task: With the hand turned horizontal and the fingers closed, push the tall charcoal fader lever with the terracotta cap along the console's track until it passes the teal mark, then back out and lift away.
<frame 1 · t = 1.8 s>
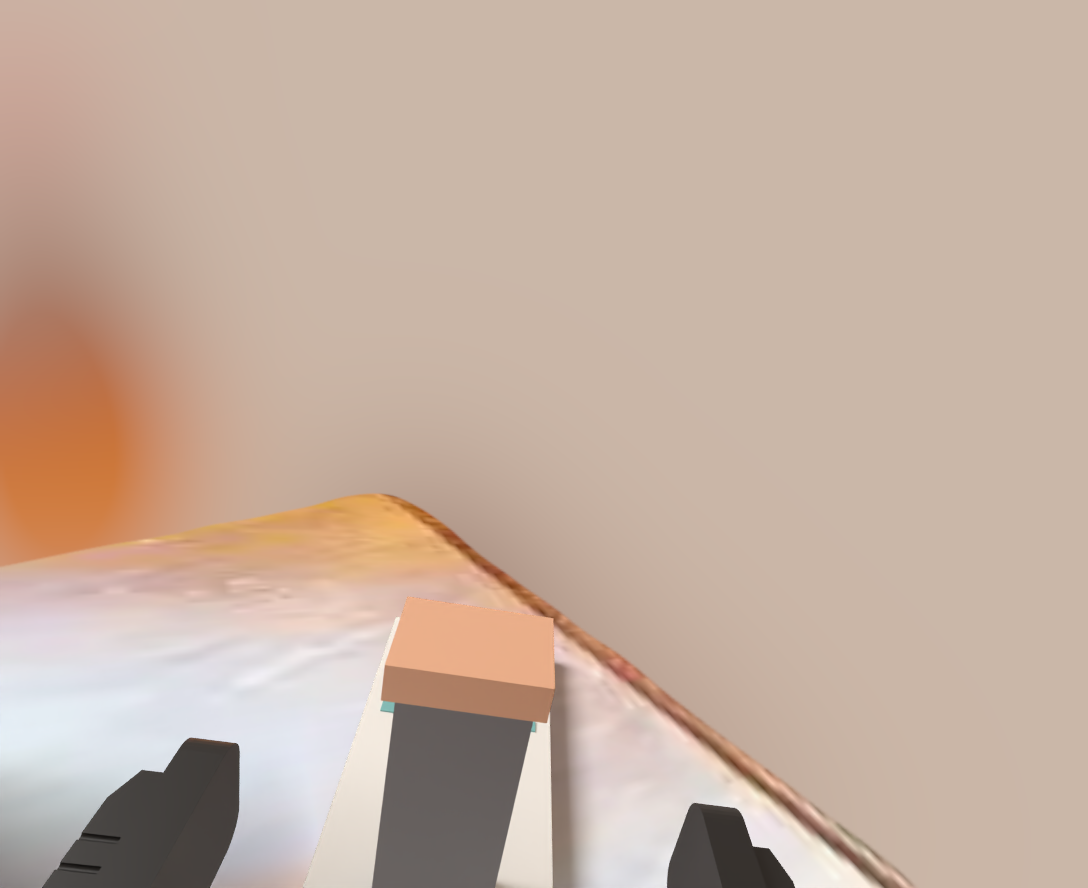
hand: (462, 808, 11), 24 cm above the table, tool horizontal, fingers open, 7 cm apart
console: (446, 793, 38), on the table
fader: (450, 787, 27), point 10 cm above the table, slide at 0.0 cm
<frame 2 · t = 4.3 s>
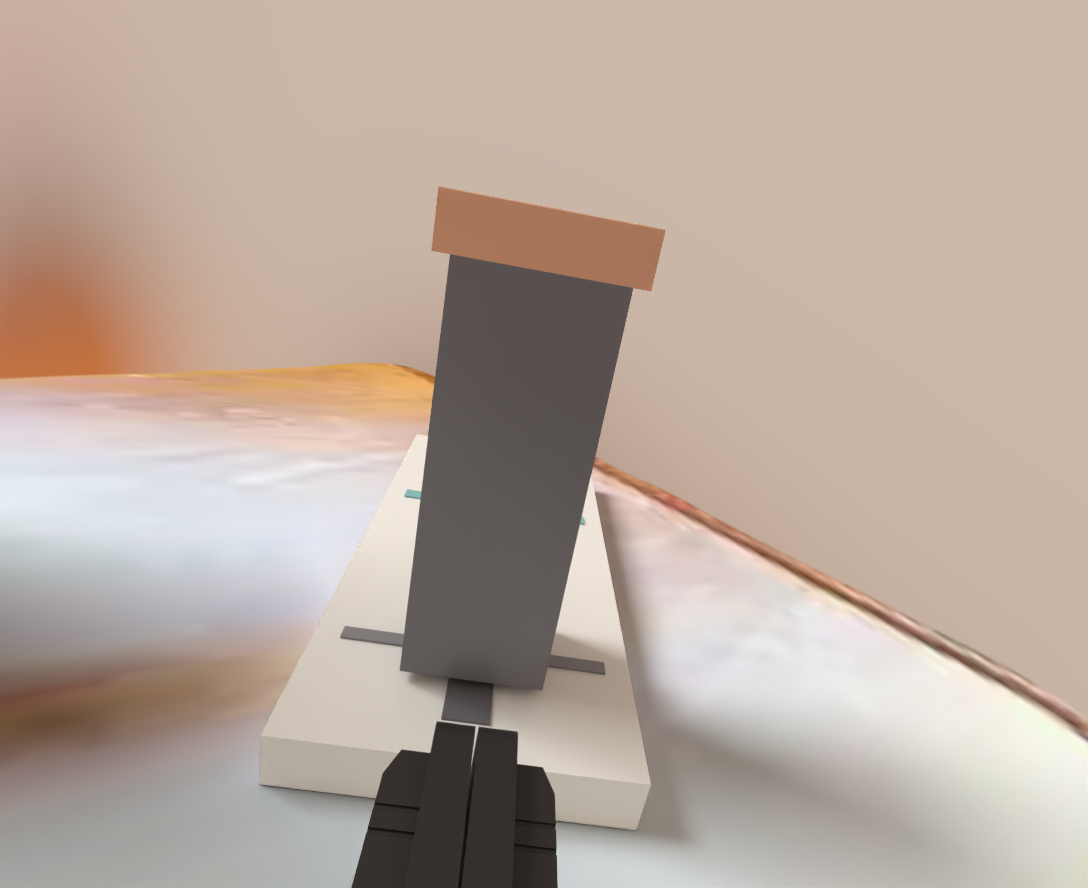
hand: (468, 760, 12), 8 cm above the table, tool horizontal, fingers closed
console: (484, 578, 32), on the table
fader: (509, 453, 21), point 10 cm above the table, slide at 0.0 cm
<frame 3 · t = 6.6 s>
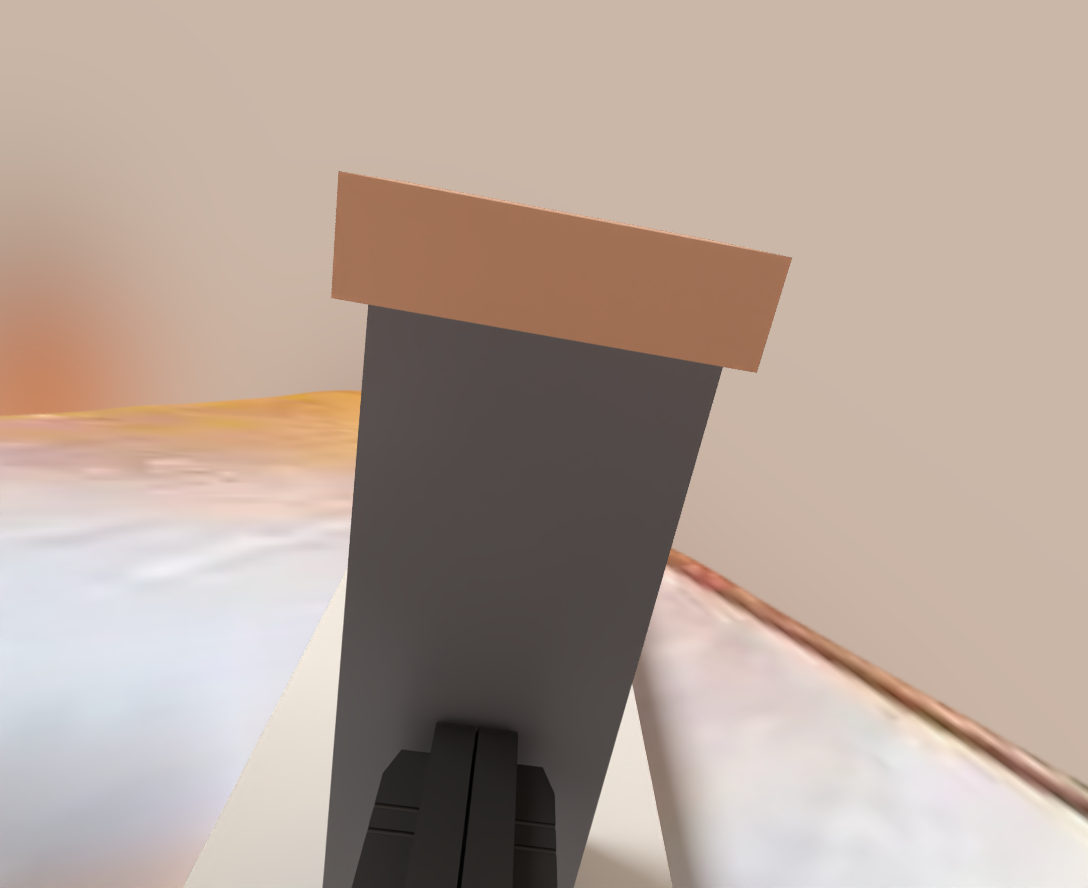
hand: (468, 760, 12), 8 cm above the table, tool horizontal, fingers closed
console: (463, 728, 23), on the table
fader: (492, 615, 13), point 10 cm above the table, slide at 1.0 cm, touching gripper
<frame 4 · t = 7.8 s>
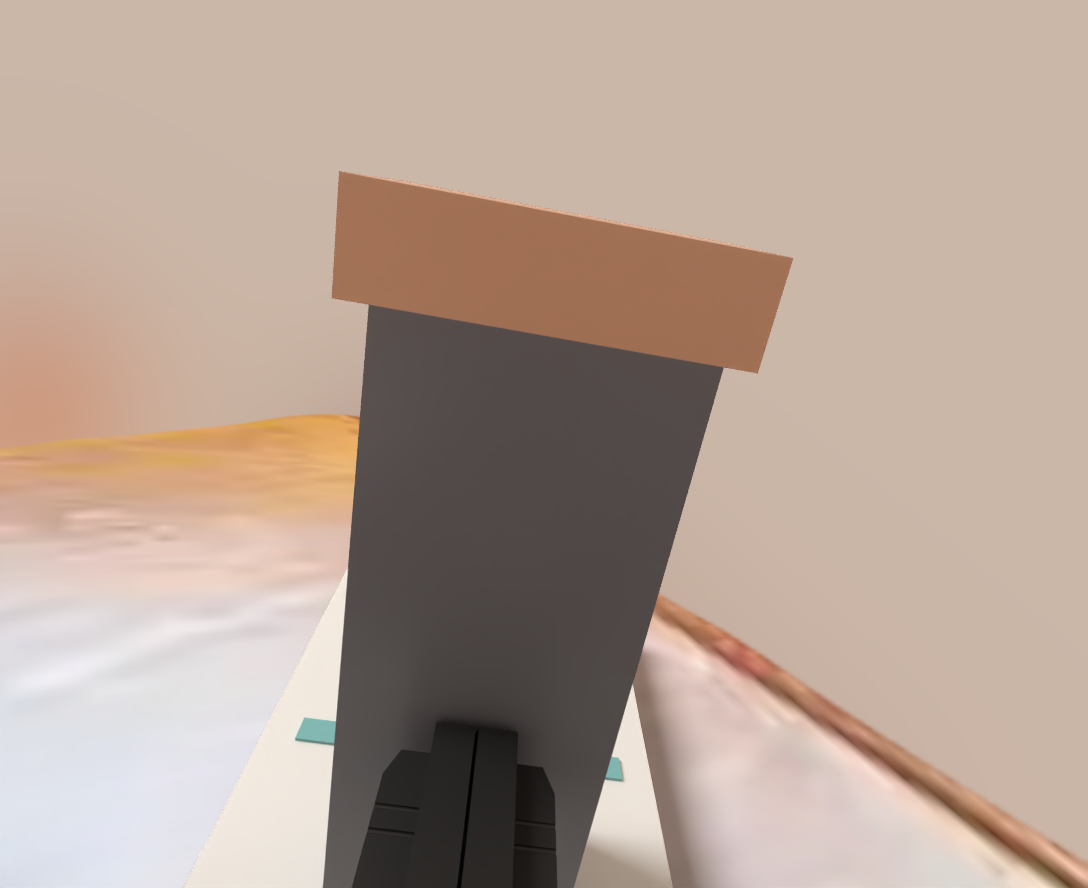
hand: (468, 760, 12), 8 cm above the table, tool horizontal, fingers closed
fader: (493, 615, 13), point 10 cm above the table, slide at 7.8 cm, touching gripper
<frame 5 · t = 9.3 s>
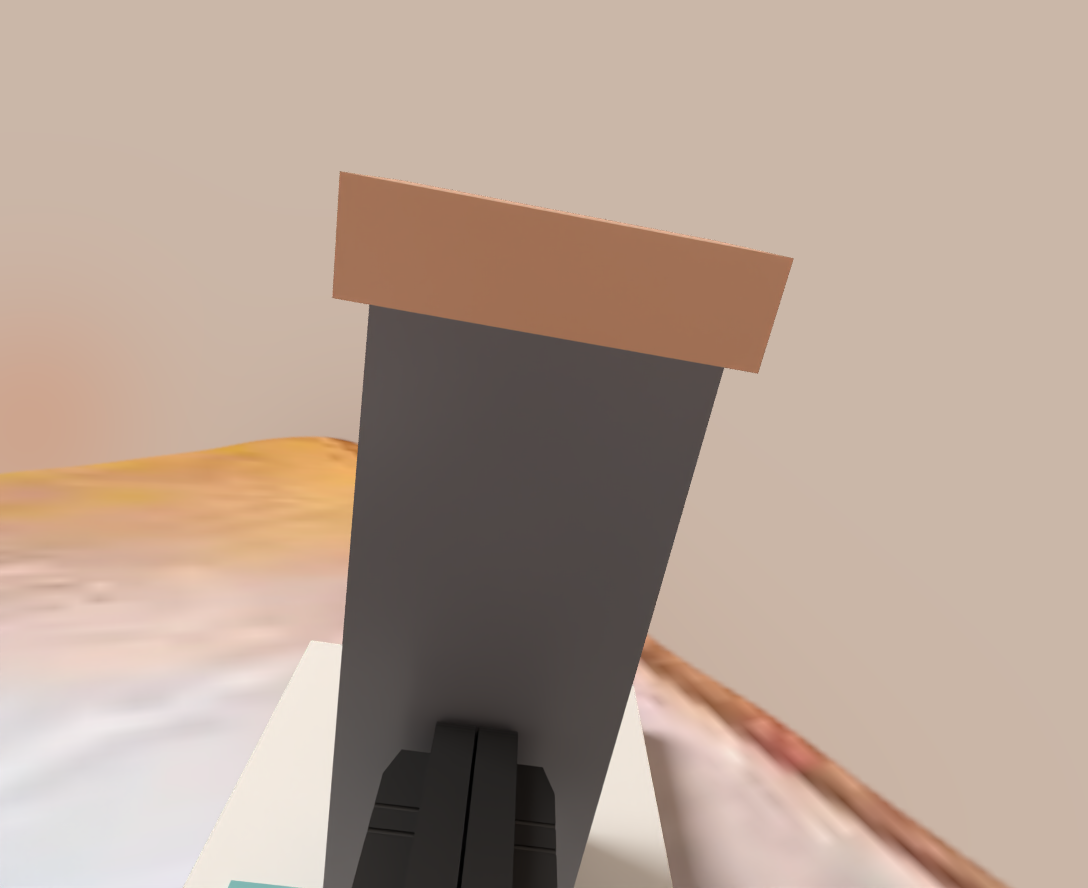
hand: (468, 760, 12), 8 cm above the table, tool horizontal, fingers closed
fader: (493, 615, 13), point 10 cm above the table, slide at 12.9 cm, touching gripper
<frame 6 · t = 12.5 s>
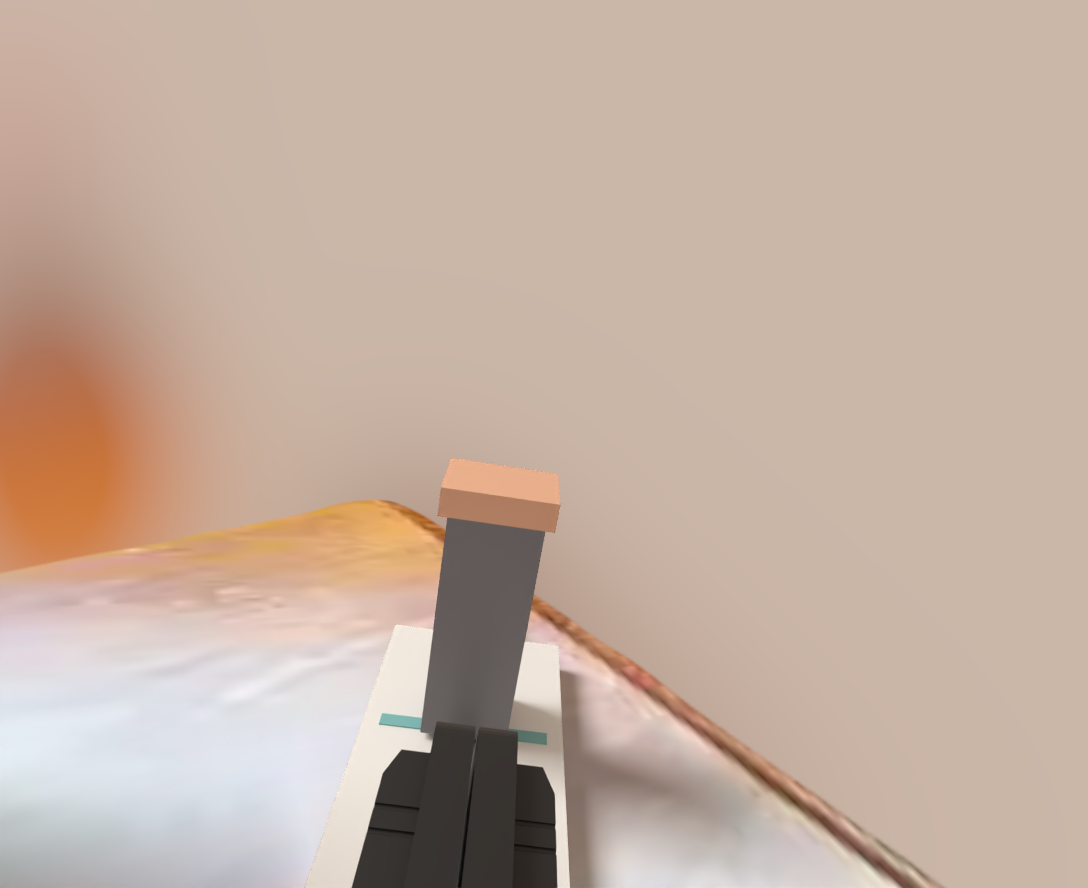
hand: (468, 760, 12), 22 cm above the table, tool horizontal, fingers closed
console: (451, 813, 35), on the table
fader: (483, 604, 36), point 10 cm above the table, slide at 13.0 cm
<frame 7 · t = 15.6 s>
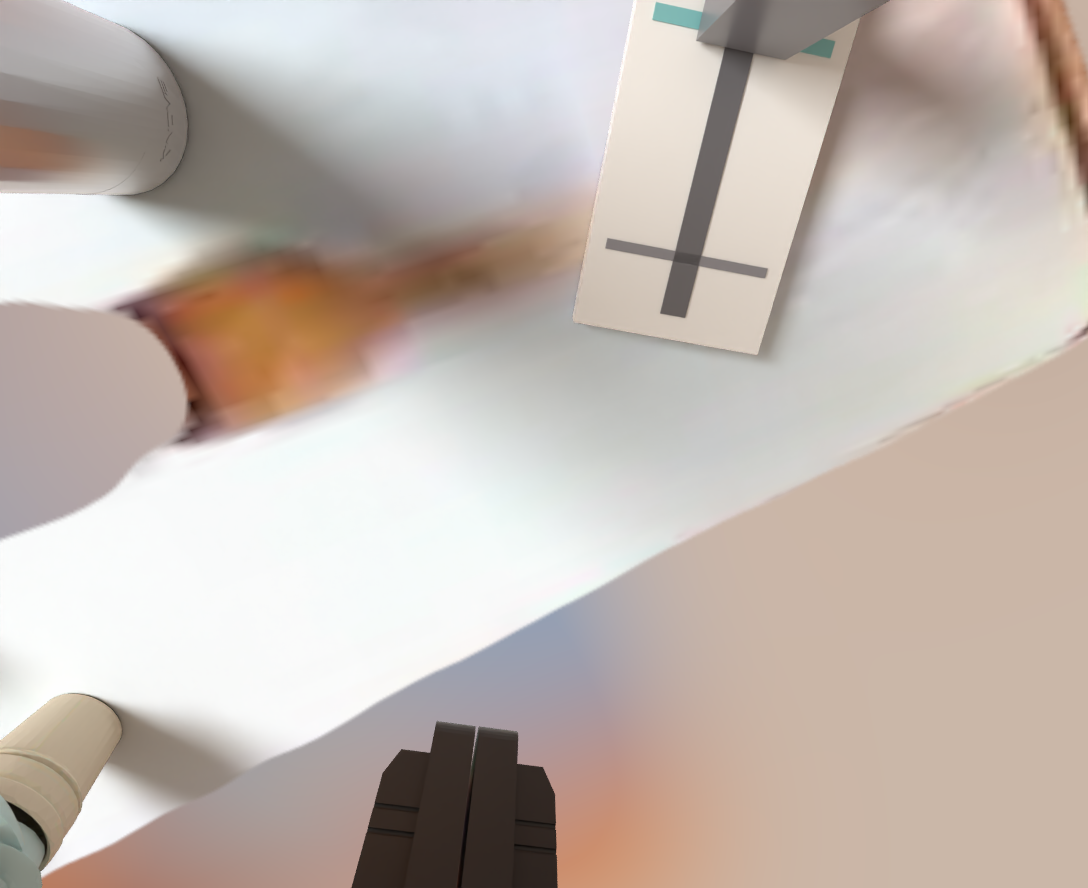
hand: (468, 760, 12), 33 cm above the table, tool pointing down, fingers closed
ice cream cone: (87, 722, 54), on the table
console: (714, 117, 37), on the table
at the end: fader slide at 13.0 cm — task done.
